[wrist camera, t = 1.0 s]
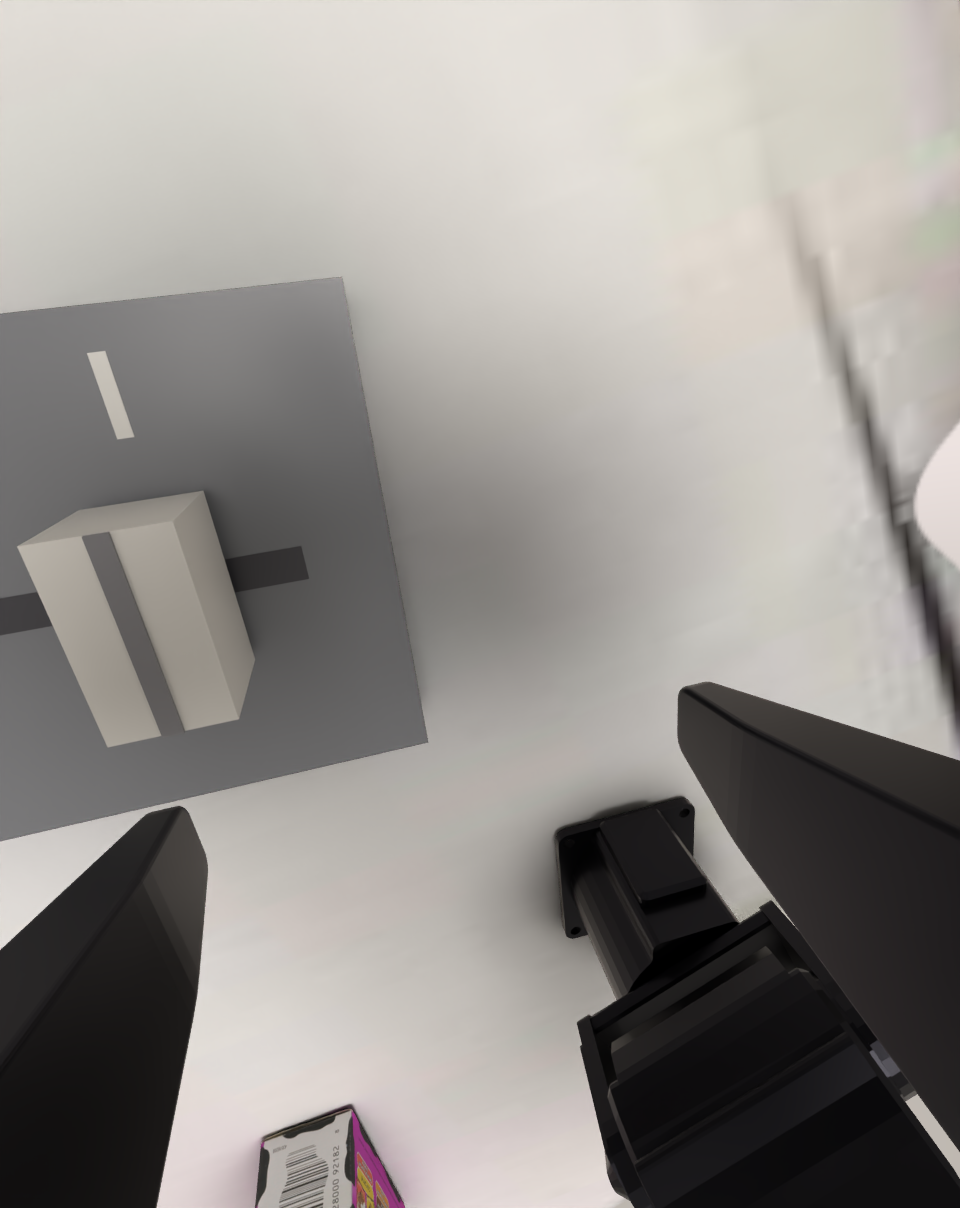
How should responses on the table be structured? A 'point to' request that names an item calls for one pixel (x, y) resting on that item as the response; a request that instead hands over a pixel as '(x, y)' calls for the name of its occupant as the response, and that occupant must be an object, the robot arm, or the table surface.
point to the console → (242, 522)
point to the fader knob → (145, 615)
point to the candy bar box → (323, 1168)
